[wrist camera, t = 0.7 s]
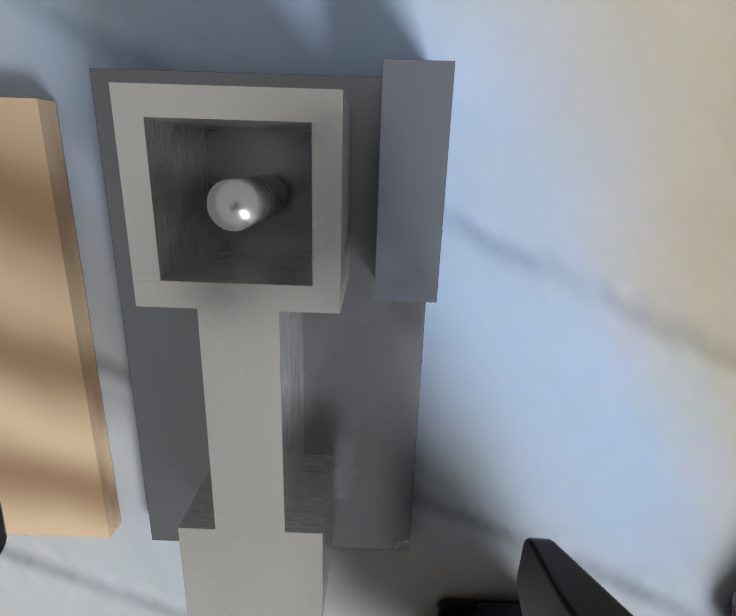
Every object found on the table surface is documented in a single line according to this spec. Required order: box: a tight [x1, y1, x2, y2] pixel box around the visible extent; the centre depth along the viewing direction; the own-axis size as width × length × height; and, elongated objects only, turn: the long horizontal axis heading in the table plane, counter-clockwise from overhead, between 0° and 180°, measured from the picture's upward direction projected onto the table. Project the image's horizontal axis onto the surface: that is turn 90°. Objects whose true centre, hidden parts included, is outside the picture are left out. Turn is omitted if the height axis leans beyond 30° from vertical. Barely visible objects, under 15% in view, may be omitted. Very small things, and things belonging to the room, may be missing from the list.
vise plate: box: [89, 59, 455, 550], centre depth 17 cm, size 20×12×6 cm, turn 178°
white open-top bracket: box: [109, 82, 352, 616], centre depth 17 cm, size 18×6×4 cm, turn 178°
